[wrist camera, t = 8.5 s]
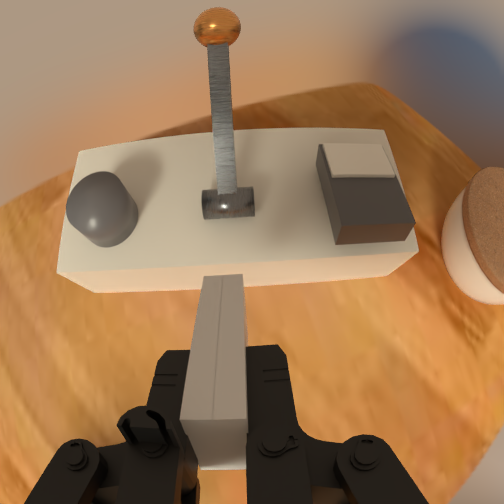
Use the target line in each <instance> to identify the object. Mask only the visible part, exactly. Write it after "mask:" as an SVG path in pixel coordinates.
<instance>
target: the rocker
mask: <svg viewBox="0 0 504 504" xmlns="http://www.w3.org/2000/svg"><path fill="white" fill-rule="evenodd" d="M316 168H317V172H318V176H319V179H320V183H321V187H322V191H323V195H324V199H325V203H326V207H327V211H328V216H329V220H330V224H331V228H332V233H333V237H334V242H335V245H344V244H361V243H379V242H396V241H405V240H406V238H407V237H408V235H409V233H410V232H411V230H412V228H413V227H414V225H415V223H416V222H415V220H414V217H413V215H412V212H411V210H410V207H409V205H408V202H407V200H406V197H405V195H404V193H403V190H402V188H401V186H400V183H399V181H398V179H397V176H396V174H395V172H394V170H393V168H392V165H391V163H390V161H389V159H388V157H387V155H386V153H385V151H384V149H383V147H382V145H381V144H352V143H323V144H319V146H318V152H317V158H316Z"/></svg>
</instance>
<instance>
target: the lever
mask: <svg viewBox="0 0 504 504" xmlns="http://www.w3.org/2000/svg"><path fill="white" fill-rule="evenodd" d="M240 30H241V24H240V21H239V19H238V17H237V16H236V15H235V14H234V13H233V12H232V11H230V10H228V9H226V8H221V7H215V8H210V9H208V10H206V11H204V12H202V13H201V14H200V15H199V16H198V18H197V19H196V21H195V24H194V34H195V37H196V39H197V40H198V41H199V42H200V43H201V44H202V45H203V46H205V47H207V50H208V67H209V84H210V99H211V114H212V128H213V141H214V154H215V166H216V178H217V189H207V190H202V195H201V202H202V213H203V218H204V220H209V219H224V218H240V217H255V204H254V189H253V186H251V187H237V176H236V161H235V146H234V130H233V114H232V99H231V83H230V82H231V81H230V65H229V45H231V44H232V43H234V42H235V41H236V39H237V38H238V36H239V34H240Z"/></svg>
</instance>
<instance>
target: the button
mask: <svg viewBox="0 0 504 504" xmlns="http://www.w3.org/2000/svg"><path fill="white" fill-rule="evenodd" d="M66 215H67V218H68V221H69V222H70V224H71V225H72V226H73V227H74V228H76V229H77V230H78V231H79V232H80V233H82V234H83V235H84V236H85V237H86V238H87V239H89V240H90V241H91V242H92V243H94V244H95V245H97V246H99V247H104V248H108V247H113V246H116V245H118V244H120V243H122V242H123V241H125V240H126V239H127V238H128V237H129V236H130V235H131V233H132V232H133V230H134V229H135V227H136V224H137V221H138V208H137V205H136V203H135V201H134V200H133V198H132V197H131V195H130V194H129V192H128V191H127V189H126V188H125V186H124V185H123V184H122V182H121V181H120V179H119V178H118V177H117V176H116V175H115V174H113V173H111V172H107V171H99V172H95V173H92V174H90V175H88V176H86V177H84V178H83V179H82V180H80V181H79V182H78V183H77V184H76V185H75V187H74V188H73V189H72V191H71V193H70V195H69V197H68V200H67V204H66Z"/></svg>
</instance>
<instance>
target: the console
mask: <svg viewBox="0 0 504 504" xmlns="http://www.w3.org/2000/svg"><path fill="white" fill-rule="evenodd" d="M323 143H352V144H381V145H382V147H383V149H384V151H385V153H386V155H387V157H388V159H389V161H390V163H391V165H392V168H393V170H394V172H395V174H396V176H397V179H398V181H399V183H400V186H401V188H402V190H403V193H404V189H403V186H402V182H401V179H400V176H399V173H398V169H397V166H396V163H395V160H394V157H393V154H392V151H391V148H390V145H389V142H388V139H387V137H386V134H385V131H384V130H378V129H357V128H268V129H247V130H234V146H235V161H236V176H237V187H251V186H253V189H254V204H255V217H240V218H224V219H209V220H204V218H203V213H202V202H201V195H202V190H207V189H217V178H216V166H215V154H214V141H213V132H206V133H196V134H186V135H177V136H169V137H161V138H153V139H146V140H139V141H133V142H127V143H120V144H114V145H109V146H103V147H98V148H93V149H88V150H83V151H79V155H78V159H77V163H76V166H75V170H74V174H73V179H72V183H71V187H70V192H69V195H70V193H71V191H72V189H73V188H74V187H75V185H76V184H77V183H78V182H79V181H80V180H82V179H83V178H84V177H86V176H88V175H90V174H92V173H95V172H99V171H107V172H111V173H113V174H115V175H116V176H117V177H118V178H119V179H120V181H121V182H122V184H123V185H124V186H125V188H126V189H127V191H128V192H129V194H130V195H131V197H132V198H133V200H134V201H135V203H136V205H137V208H138V221H137V224H136V227H135V229H134V230H133V232H132V233H131V235H130V236H129V237H128V238H127V239H126V240H125V241H123V242H122V243H120V244H118V245H116V246H113V247H108V248H104V247H99V246H97V245H95V244H94V243H92V242H91V241H90V240H89V239H87V238H86V237H85V236H84V235H83V234H82V233H80V232H79V231H78V230H77V229H76V228H74V227H73V226H72V225H71V224H70V222H69V221H68V218H67V215H66V212H65V218H64V223H63V229H62V235H61V242H60V249H59V256H58V265H57V273H58V274H60V275H62V276H63V277H65V278H67V279H69V280H71V281H73V282H75V283H77V284H78V285H80V286H82V287H84V288H86V289H88V290H90V291H92V292H94V293H109V292H144V291H171V290H194V289H201V288H202V283H203V277H204V276H215V275H231V274H243V282H244V287H250V286H267V285H282V284H296V283H310V282H323V281H336V280H348V279H360V278H371V277H382V276H387V275H389V274H390V273H391V272H393V271H394V270H395V269H397V268H398V267H399V266H401V265H402V264H403V263H405V262H406V261H407V260H409V259H410V258H411V257H412V256H414V255H415V254H416V253H418V252H419V249H418V244H417V240H416V235H415V231H414V227H413V228H412V230H411V232H410V233H409V235H408V237H407V238H406V240H405V241H396V242H379V243H361V244H344V245H335V242H334V237H333V233H332V228H331V224H330V220H329V216H328V211H327V207H326V203H325V199H324V195H323V191H322V187H321V183H320V179H319V176H318V172H317V168H316V158H317V152H318V146H319V144H323ZM404 195H405V193H404ZM405 197H406V196H405Z"/></svg>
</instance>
